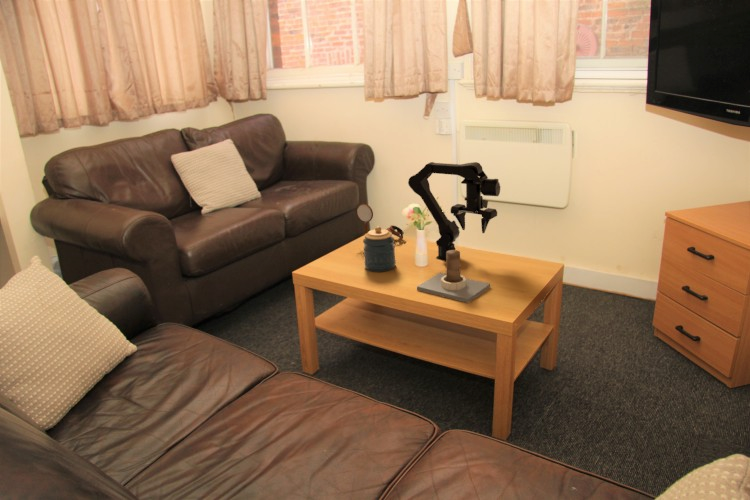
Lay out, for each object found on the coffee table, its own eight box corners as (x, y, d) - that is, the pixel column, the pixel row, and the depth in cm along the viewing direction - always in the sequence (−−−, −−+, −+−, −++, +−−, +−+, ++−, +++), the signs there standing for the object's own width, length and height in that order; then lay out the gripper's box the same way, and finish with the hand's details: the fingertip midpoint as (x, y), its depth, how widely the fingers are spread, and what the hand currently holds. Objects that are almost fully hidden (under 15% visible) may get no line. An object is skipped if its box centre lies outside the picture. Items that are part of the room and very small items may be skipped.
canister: (386, 274, 238) (384, 232, 232) (359, 270, 244) (356, 229, 238) (401, 263, 248) (399, 223, 243) (374, 259, 255) (372, 220, 249)
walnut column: (444, 284, 221) (443, 251, 217) (455, 281, 223) (455, 249, 219) (451, 288, 217) (450, 255, 213) (462, 285, 219) (462, 253, 214)
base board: (417, 290, 221) (416, 280, 220) (440, 276, 233) (440, 266, 232) (468, 303, 208) (468, 292, 207) (490, 287, 220) (490, 277, 218)
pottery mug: (387, 237, 284) (395, 223, 281) (401, 249, 280) (409, 234, 277) (372, 238, 274) (381, 223, 271) (387, 250, 270) (395, 235, 267)
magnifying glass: (358, 244, 274) (355, 203, 268) (360, 243, 276) (357, 202, 269) (373, 247, 270) (371, 205, 263) (375, 246, 271) (373, 204, 264)
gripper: (503, 192, 237) (503, 229, 242) (463, 187, 248) (463, 223, 253) (490, 198, 229) (490, 237, 234) (449, 193, 240) (450, 230, 245)
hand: (473, 231), depth 242 cm, fingers open, 9 cm apart
